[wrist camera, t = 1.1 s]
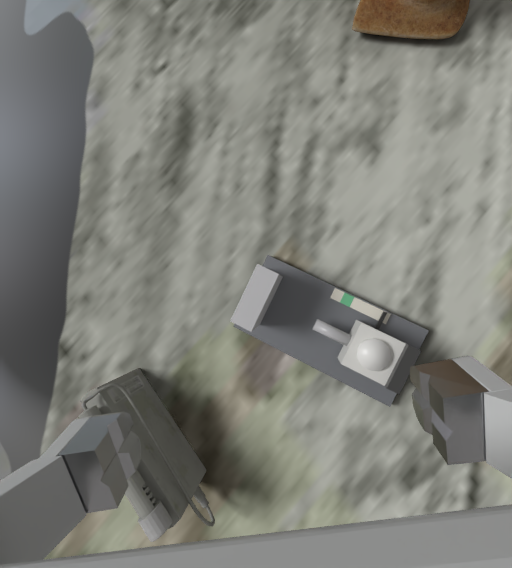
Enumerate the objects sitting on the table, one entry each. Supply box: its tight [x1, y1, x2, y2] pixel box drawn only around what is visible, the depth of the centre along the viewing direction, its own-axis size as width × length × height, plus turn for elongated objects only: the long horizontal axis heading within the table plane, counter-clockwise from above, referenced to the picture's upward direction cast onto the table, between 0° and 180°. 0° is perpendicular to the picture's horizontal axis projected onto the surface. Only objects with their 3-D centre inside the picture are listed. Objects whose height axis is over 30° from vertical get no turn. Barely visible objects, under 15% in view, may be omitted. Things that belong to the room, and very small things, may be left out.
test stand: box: [230, 255, 429, 406], centre depth 43 cm, size 25×12×10 cm, turn 64°
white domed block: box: [313, 311, 421, 394], centre depth 42 cm, size 13×9×5 cm
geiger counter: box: [78, 368, 215, 542], centre depth 44 cm, size 14×6×25 cm
